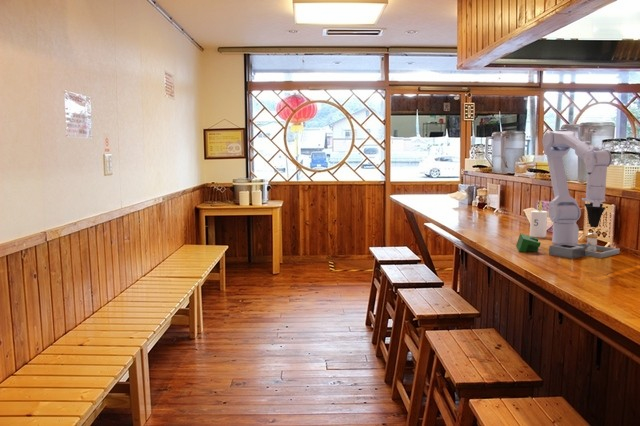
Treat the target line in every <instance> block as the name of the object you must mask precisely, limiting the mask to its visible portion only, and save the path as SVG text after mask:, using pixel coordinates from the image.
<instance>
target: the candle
mask: <svg viewBox="0 0 640 426" xmlns="http://www.w3.org/2000/svg"><path fill="white" fill-rule="evenodd" d="M542 208H543V202H542V200H540V201H539V203H538V208H537V209H538V210H531V211H530V225H529V226H530V227H529V236H532V237H535V238H546V237H547V227H548V214H549V211H548V210H547V211H546V210H543V209H542Z"/></svg>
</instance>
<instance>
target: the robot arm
mask: <svg viewBox="0 0 640 426" xmlns="http://www.w3.org/2000/svg"><path fill="white" fill-rule="evenodd" d="M541 141H542V148H543V152H544V153H543V154H544V155H545V156H546V159H547V165H548V170H549V175H550V180H551V186H552V191H553V195H554V196H553V197H554V198H553V199H552V200H550V202H549V203H548V217H549V219H550V220H551V222H552V224H553V225H552V226H553V227H552V238H551V239H552V240H551V243H552V244H554V245H556V244H561V243H565V244H571V245H577V244H579V234H580V233H579V230H580V229H579V225H578V224H577V223H578V222H577V221H579V220H580V218H581V215H582V211H581V208H580V206H579V204H578V201H577V199H576V198H574V197H572V196H571V195H570V190H569V185H568V181H567V176H566V170H565V165H564V161H563V157H564V156H566V155H567V154H568V153H569V151H570V150H571V149H573V150H574V153H575V155H576V156H577V157H579V158H580V159H581V160H583V162H584V165H585V172H586V188H585V198H583V197H582V198H581V201H585V202H587V203H584V206H585V208H586V213H587V221H588V224H589V226H590V228H598V227H599V225H600V221H601V219H602V215H603V213H604V212H605V210H606V207H605V206H604V204H603V203H605V202H606V199H605V198H606V185H607V176H608V175H607V173H608V167H610V165H611V164H612V161H613V156H612V153H611V152H610V151H609V150H608V149H603V150H602V149H600V148H599V146H595V145H593V144H592V142H591V141H590V140H585V141H581V140H580V139H579V137H577V136H576V133H575V132H573V131H571V130H565V131H564V130H560V131H559V130H557V131H555V130H553V131H551V130H547V131H546V132H544V134H543V137H542V140H541ZM603 206H604V207H603Z"/></svg>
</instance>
